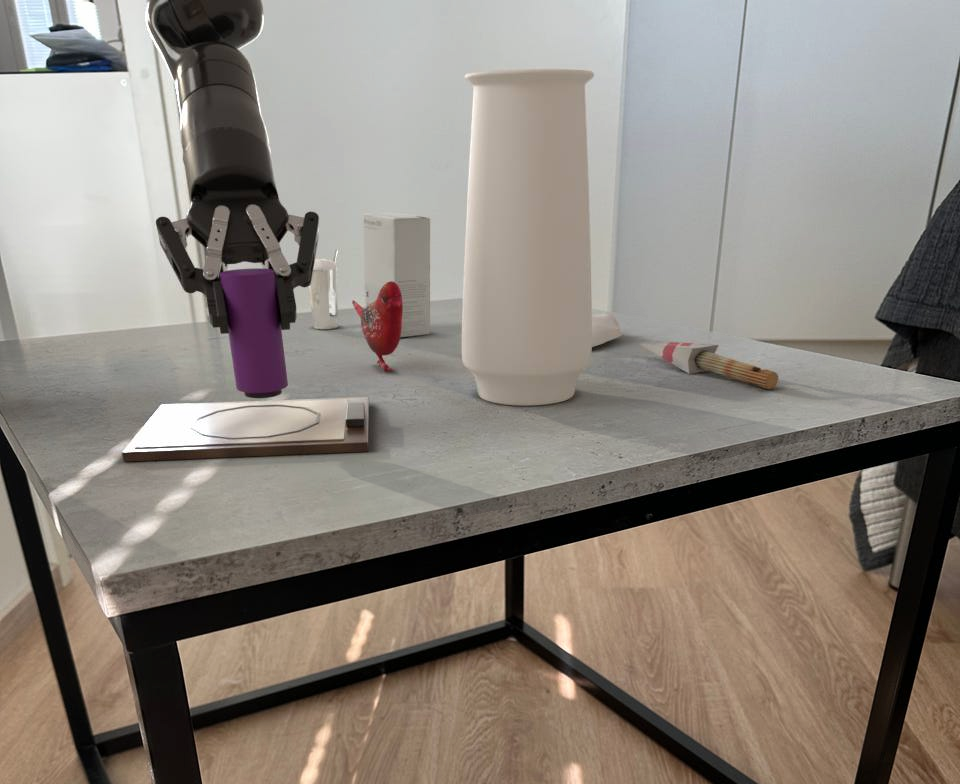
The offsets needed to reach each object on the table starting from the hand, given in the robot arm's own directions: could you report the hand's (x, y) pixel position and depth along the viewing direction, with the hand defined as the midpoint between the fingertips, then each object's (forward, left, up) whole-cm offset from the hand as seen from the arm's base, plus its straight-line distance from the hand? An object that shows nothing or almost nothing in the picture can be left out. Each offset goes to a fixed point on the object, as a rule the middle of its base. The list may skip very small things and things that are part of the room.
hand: (255, 325), depth 76 cm
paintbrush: (+46, +20, -10) cm, 51 cm away
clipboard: (-1, +3, -10) cm, 10 cm away
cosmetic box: (+13, +51, -10) cm, 54 cm away
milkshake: (+3, +57, -10) cm, 58 cm away
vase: (+25, +13, -10) cm, 30 cm away
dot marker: (0, +2, -6) cm, 6 cm away
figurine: (+32, +42, -10) cm, 54 cm away
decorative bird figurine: (+10, +29, -10) cm, 32 cm away
